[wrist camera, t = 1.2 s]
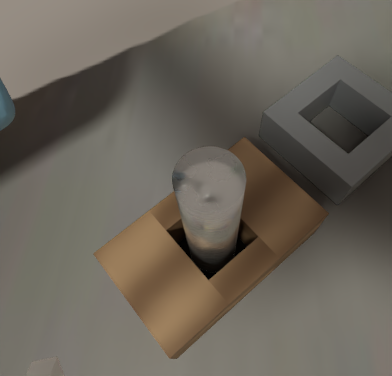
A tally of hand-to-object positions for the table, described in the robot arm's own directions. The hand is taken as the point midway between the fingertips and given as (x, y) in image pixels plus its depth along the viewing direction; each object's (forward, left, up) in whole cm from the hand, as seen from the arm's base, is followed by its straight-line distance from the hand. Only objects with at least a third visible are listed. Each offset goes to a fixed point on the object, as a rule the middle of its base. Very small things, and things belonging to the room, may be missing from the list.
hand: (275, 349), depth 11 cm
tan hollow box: (-10, +5, -27) cm, 30 cm away
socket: (-11, +26, -27) cm, 39 cm away
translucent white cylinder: (-10, +5, -27) cm, 30 cm away
